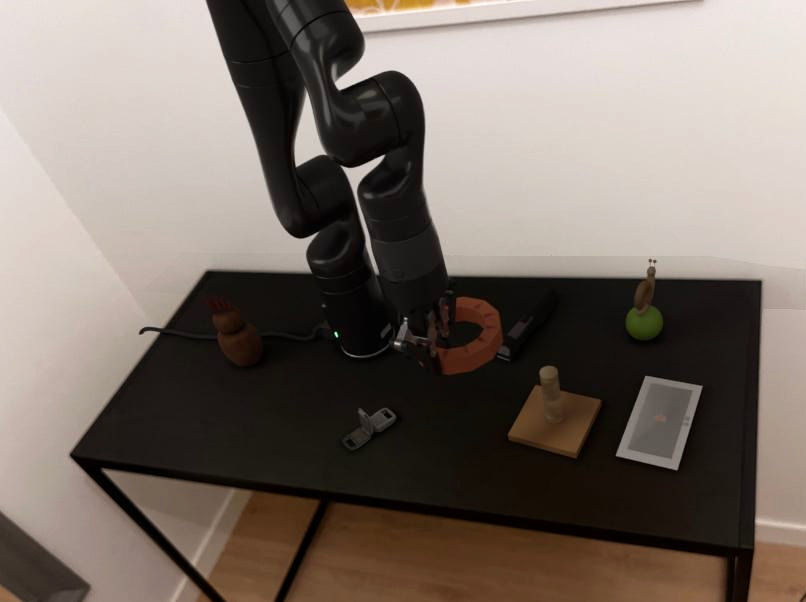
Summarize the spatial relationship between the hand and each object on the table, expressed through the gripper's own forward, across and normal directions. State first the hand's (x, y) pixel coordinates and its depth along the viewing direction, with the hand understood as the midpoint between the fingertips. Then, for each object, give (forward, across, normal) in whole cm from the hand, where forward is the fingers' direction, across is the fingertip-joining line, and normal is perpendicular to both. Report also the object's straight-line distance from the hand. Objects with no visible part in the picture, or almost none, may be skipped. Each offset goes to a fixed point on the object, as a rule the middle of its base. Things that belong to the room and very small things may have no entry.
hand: (439, 365), depth 91 cm
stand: (+15, -7, +12) cm, 20 cm away
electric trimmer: (+15, -24, 0) cm, 28 cm away
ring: (0, -5, 0) cm, 5 cm away
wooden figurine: (+15, -4, -44) cm, 46 cm away
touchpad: (+15, -11, +25) cm, 31 cm away
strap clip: (+15, +3, -14) cm, 20 cm away
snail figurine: (+15, -28, +18) cm, 37 cm away
